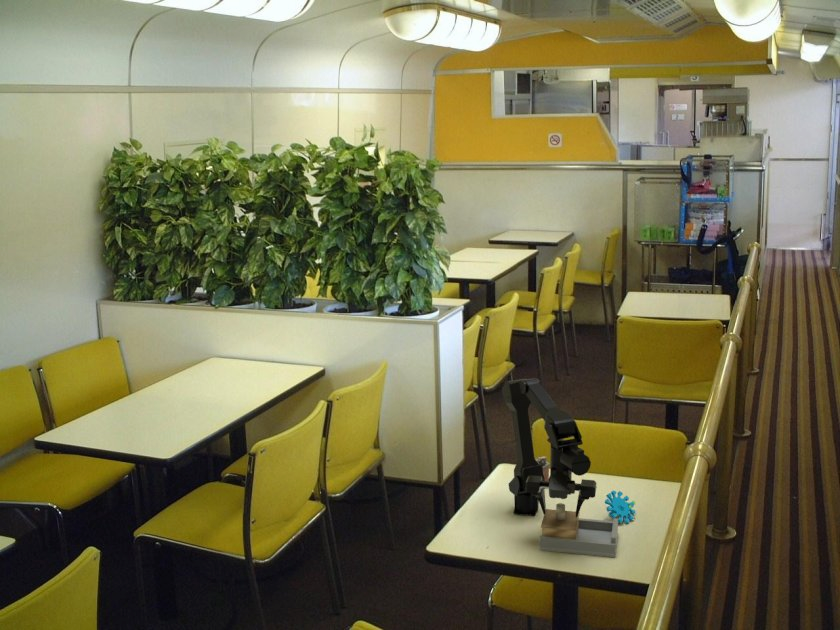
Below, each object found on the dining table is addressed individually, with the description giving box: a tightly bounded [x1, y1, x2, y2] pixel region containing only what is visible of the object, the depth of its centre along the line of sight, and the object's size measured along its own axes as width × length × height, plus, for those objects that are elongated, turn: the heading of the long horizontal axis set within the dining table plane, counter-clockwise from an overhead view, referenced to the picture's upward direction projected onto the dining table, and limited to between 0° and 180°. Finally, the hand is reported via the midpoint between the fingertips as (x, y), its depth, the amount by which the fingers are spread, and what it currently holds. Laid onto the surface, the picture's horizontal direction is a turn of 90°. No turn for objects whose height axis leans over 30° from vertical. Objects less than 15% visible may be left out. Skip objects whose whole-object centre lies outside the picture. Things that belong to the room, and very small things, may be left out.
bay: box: [539, 517, 619, 558], centre depth 250 cm, size 20×14×5 cm
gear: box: [604, 490, 636, 524], centre depth 264 cm, size 11×6×10 cm
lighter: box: [535, 455, 550, 490], centre depth 284 cm, size 8×3×10 cm, turn 134°
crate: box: [540, 502, 580, 539], centre depth 251 cm, size 9×10×9 cm
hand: (560, 515), depth 250 cm, fingers open, 8 cm apart
